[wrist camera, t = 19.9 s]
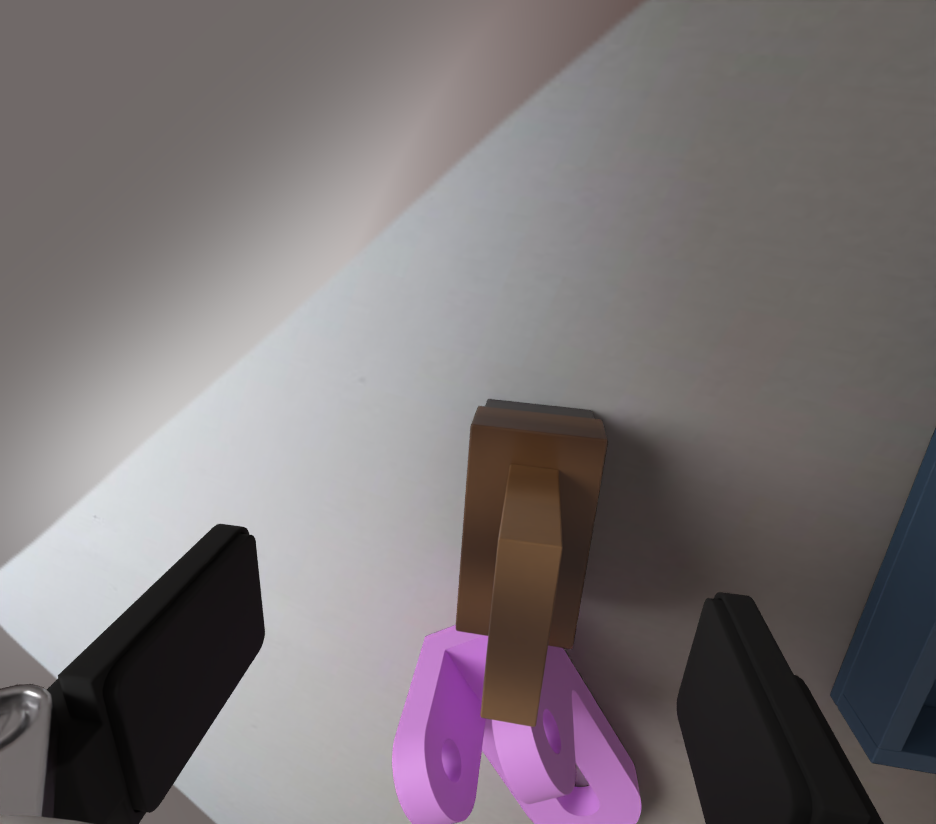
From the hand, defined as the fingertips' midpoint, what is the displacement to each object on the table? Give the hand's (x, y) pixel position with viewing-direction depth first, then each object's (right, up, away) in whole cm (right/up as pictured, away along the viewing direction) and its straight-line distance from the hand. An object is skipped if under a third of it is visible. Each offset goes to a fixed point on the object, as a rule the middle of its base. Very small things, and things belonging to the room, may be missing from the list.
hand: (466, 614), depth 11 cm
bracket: (+4, -11, +14) cm, 18 cm away
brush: (+2, +1, +11) cm, 11 cm away
